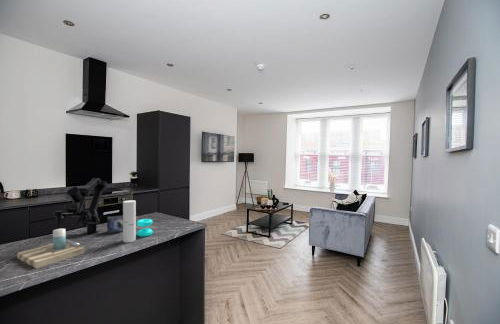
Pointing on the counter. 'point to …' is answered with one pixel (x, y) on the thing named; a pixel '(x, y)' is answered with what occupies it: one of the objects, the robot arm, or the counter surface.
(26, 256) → the light wood flat tray
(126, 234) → the cylindrical container
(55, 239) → the white teal rounded cylinder
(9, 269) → the counter surface
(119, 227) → the small box
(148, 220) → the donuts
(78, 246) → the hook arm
